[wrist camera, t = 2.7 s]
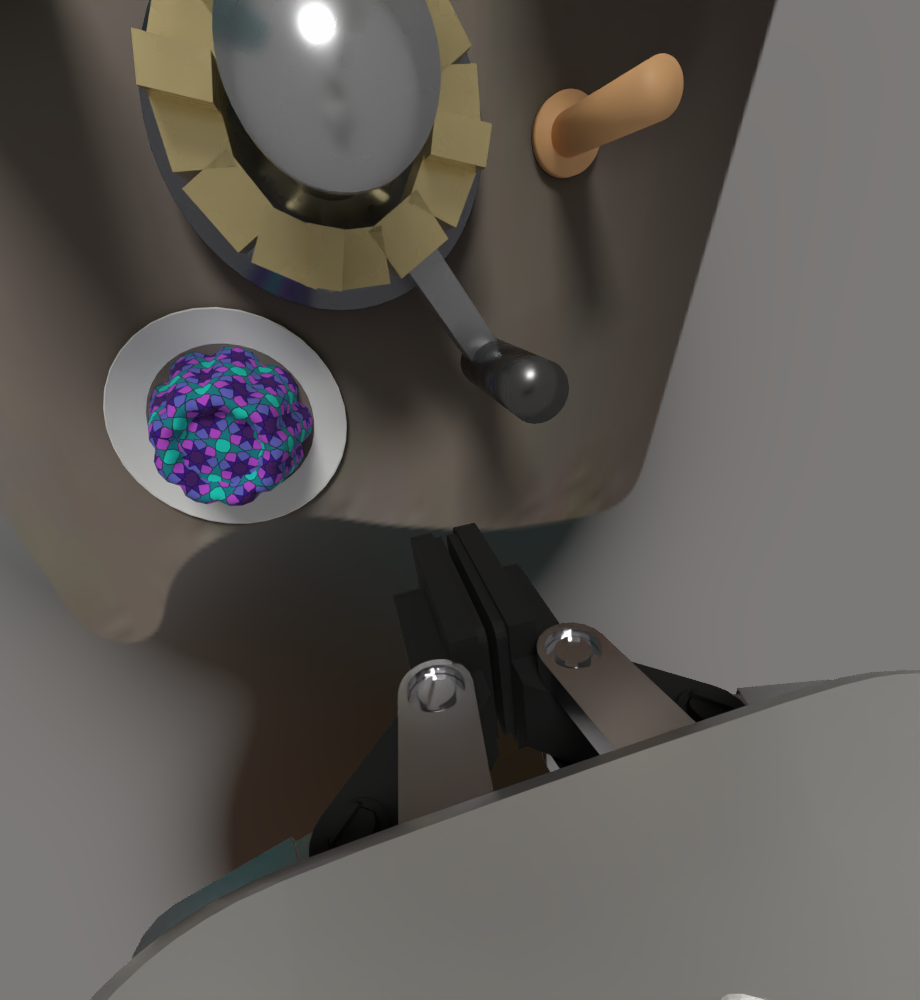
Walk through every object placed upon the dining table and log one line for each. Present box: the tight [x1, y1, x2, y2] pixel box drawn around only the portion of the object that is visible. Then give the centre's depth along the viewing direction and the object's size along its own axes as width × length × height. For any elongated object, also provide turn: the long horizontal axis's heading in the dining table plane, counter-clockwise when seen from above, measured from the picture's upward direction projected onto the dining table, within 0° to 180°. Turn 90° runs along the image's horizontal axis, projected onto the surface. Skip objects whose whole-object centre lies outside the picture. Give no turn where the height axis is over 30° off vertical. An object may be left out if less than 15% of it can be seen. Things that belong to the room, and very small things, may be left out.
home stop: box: [531, 53, 684, 178], centre depth 22 cm, size 4×4×8 cm
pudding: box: [103, 307, 347, 524], centre depth 25 cm, size 12×12×5 cm
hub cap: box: [139, 0, 482, 310], centre depth 18 cm, size 14×14×11 cm
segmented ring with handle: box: [131, 0, 569, 424], centre depth 19 cm, size 19×12×8 cm, turn 37°
